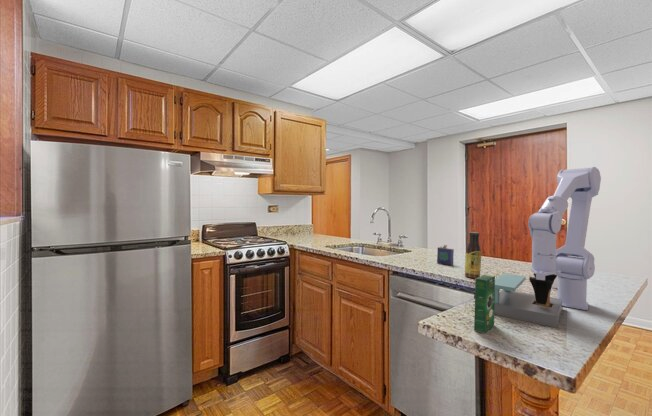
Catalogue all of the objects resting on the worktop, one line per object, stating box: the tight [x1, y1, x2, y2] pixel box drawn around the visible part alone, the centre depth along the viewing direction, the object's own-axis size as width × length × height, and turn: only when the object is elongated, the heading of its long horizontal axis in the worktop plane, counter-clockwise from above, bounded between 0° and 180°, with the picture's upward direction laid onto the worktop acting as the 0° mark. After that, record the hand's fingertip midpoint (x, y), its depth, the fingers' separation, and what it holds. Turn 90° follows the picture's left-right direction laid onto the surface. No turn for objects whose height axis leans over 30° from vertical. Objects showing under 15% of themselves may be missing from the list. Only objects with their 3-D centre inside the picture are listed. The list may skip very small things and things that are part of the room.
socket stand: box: [494, 273, 563, 328], centre depth 92 cm, size 20×16×8 cm
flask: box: [436, 244, 455, 267], centre depth 166 cm, size 9×3×11 cm, turn 38°
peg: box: [536, 290, 551, 307], centre depth 89 cm, size 3×3×8 cm
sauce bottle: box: [464, 231, 482, 279], centre depth 136 cm, size 6×6×20 cm
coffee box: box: [473, 274, 496, 334], centre depth 78 cm, size 8×3×13 cm, turn 137°
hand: (542, 300), depth 89 cm, fingers open, 7 cm apart
